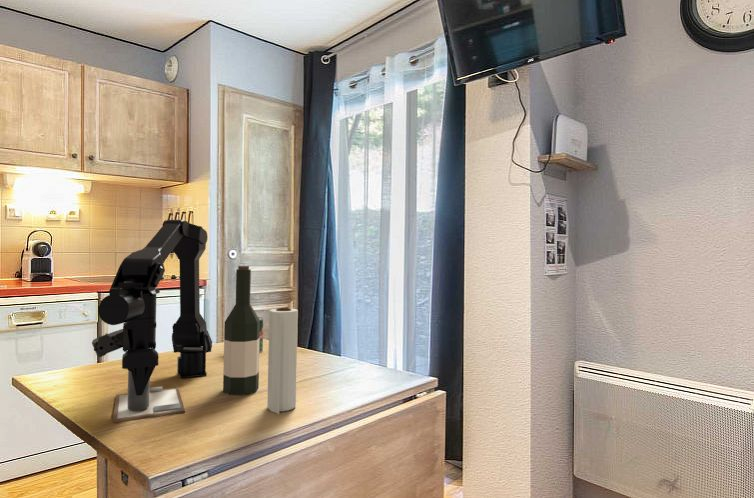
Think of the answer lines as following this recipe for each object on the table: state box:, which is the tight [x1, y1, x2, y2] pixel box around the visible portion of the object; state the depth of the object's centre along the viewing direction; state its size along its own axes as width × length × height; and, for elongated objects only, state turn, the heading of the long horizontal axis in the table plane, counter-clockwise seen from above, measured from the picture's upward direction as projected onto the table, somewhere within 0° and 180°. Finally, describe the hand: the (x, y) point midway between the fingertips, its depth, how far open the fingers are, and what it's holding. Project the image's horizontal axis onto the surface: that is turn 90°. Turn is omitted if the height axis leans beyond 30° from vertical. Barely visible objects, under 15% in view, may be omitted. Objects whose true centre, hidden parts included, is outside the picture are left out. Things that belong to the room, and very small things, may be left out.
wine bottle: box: [222, 265, 260, 396], centre depth 111 cm, size 8×8×30 cm
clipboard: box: [112, 385, 186, 423], centre depth 100 cm, size 13×17×1 cm
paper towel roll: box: [266, 307, 299, 416], centre depth 100 cm, size 7×6×21 cm
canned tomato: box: [258, 316, 264, 354], centre depth 152 cm, size 8×8×11 cm
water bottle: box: [127, 370, 151, 410], centre depth 96 cm, size 4×4×10 cm
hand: (139, 392), depth 96 cm, fingers closed on water bottle, 4 cm apart
